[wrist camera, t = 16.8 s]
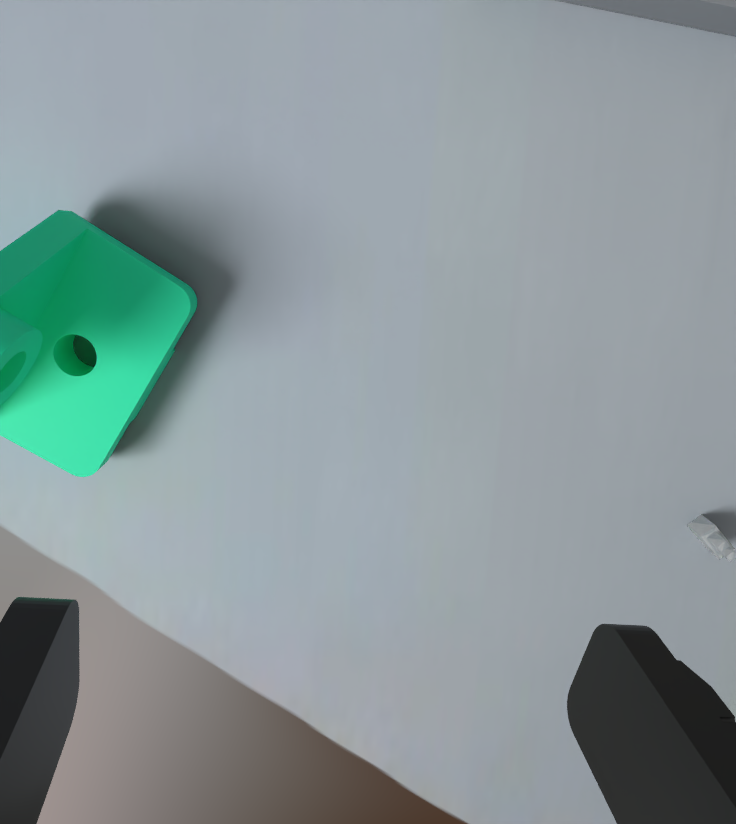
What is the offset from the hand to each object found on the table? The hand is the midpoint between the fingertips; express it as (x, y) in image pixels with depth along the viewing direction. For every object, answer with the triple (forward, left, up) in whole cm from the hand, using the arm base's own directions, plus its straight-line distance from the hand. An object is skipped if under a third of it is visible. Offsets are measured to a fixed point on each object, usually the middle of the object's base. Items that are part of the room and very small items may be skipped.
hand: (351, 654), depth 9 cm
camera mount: (-8, -11, -26) cm, 30 cm away
